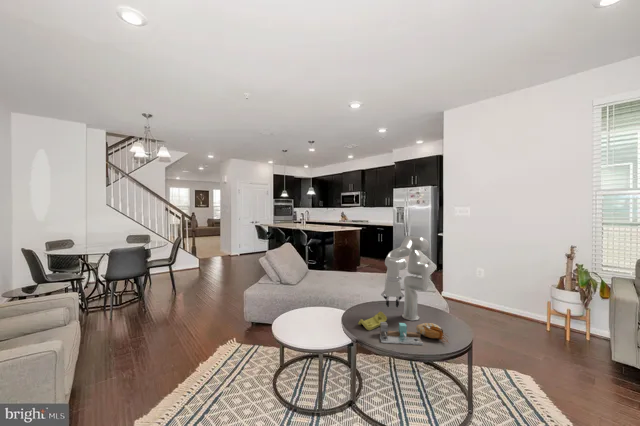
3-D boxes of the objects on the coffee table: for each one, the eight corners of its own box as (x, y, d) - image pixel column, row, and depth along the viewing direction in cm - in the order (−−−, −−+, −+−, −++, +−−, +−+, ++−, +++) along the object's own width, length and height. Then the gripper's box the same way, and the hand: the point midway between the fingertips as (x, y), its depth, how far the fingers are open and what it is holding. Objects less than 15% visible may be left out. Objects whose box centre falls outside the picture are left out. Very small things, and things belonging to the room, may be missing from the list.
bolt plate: (379, 337, 174) (379, 335, 174) (419, 339, 172) (419, 337, 172) (381, 342, 167) (381, 340, 167) (422, 345, 165) (422, 343, 165)
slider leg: (398, 334, 178) (398, 322, 178) (404, 334, 178) (405, 323, 177) (402, 342, 167) (402, 330, 166) (409, 343, 166) (409, 330, 166)
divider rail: (380, 333, 179) (380, 321, 179) (418, 335, 177) (419, 323, 177) (382, 341, 168) (383, 329, 167) (424, 344, 166) (424, 331, 165)
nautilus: (455, 344, 167) (437, 350, 161) (429, 328, 186) (412, 332, 180) (456, 332, 166) (438, 337, 160) (429, 317, 186) (412, 321, 180)
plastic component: (369, 328, 181) (359, 317, 188) (366, 336, 184) (357, 324, 191) (389, 319, 192) (379, 309, 199) (386, 327, 195) (376, 316, 202)
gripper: (405, 277, 178) (404, 305, 179) (378, 276, 179) (378, 303, 180) (407, 280, 171) (407, 309, 171) (380, 279, 172) (379, 308, 172)
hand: (392, 306), depth 176 cm, fingers open, 5 cm apart
